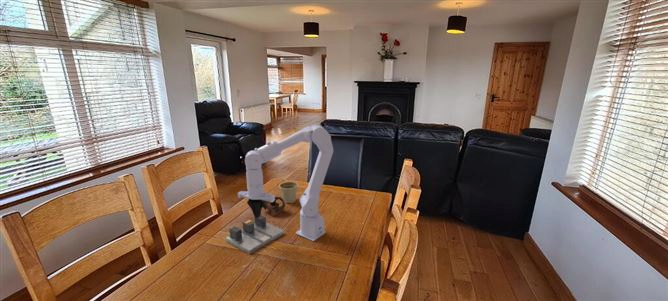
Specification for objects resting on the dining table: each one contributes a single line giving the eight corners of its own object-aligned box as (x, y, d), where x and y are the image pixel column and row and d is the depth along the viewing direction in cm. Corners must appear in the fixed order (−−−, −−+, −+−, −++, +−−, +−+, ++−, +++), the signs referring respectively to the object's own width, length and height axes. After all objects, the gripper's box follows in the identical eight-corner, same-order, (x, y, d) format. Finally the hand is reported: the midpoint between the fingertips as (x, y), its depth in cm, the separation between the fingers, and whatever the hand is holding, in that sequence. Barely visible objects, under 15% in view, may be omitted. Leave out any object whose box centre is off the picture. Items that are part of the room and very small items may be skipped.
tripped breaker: (254, 230, 114) (253, 221, 113) (249, 233, 112) (248, 224, 111) (248, 227, 116) (247, 218, 115) (243, 229, 114) (242, 221, 113)
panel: (283, 233, 115) (283, 222, 114) (249, 254, 102) (248, 241, 100) (260, 223, 123) (260, 212, 122) (226, 241, 110) (224, 229, 108)
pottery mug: (284, 206, 140) (287, 196, 134) (281, 222, 133) (284, 212, 127) (260, 201, 138) (262, 191, 133) (255, 218, 131) (257, 207, 125)
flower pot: (276, 203, 142) (275, 187, 139) (284, 196, 150) (284, 180, 148) (293, 206, 139) (293, 189, 137) (301, 198, 148) (301, 182, 146)
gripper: (277, 181, 107) (279, 214, 110) (244, 177, 111) (246, 209, 114) (268, 188, 100) (270, 223, 104) (233, 184, 104) (236, 217, 108)
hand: (257, 216), depth 109 cm, fingers closed
